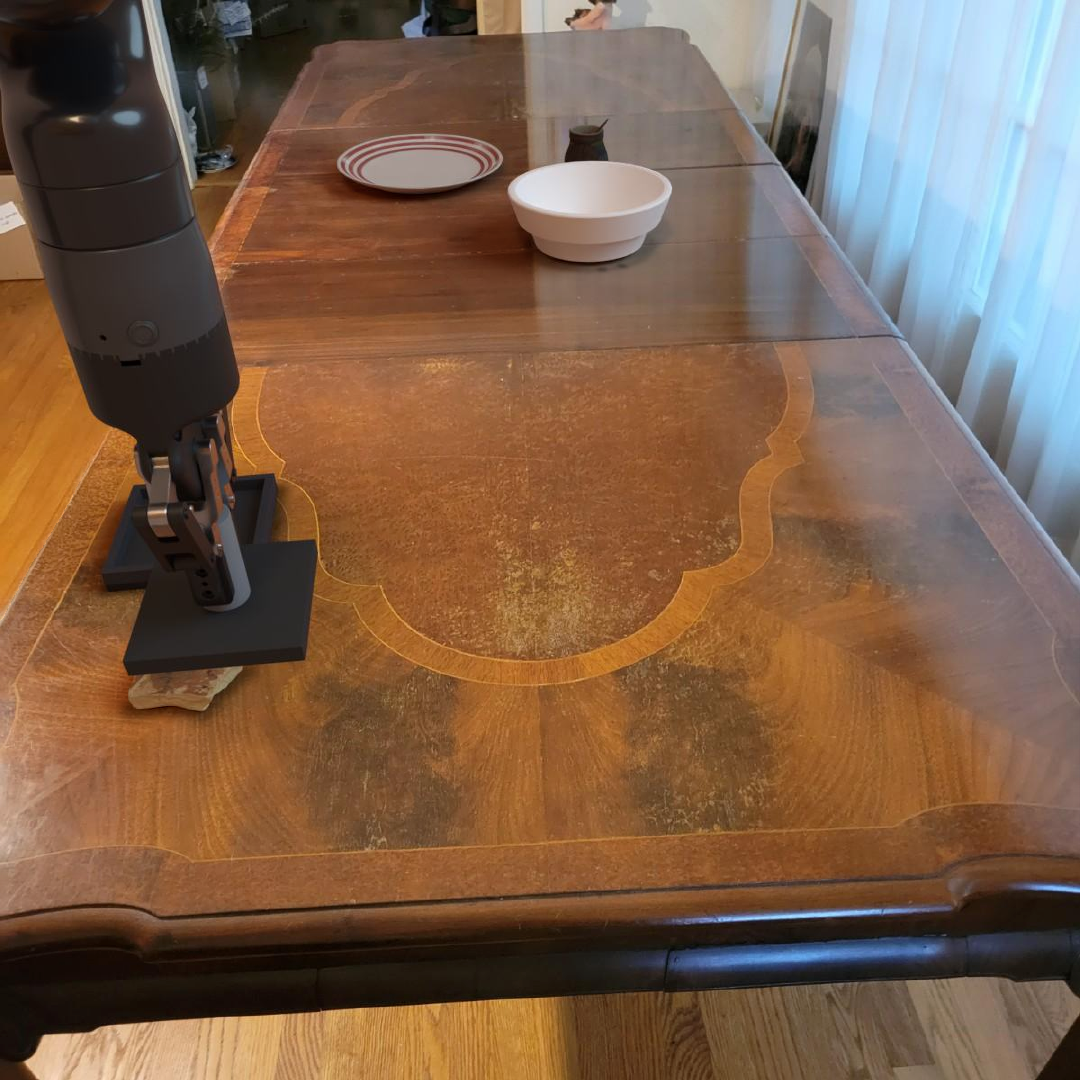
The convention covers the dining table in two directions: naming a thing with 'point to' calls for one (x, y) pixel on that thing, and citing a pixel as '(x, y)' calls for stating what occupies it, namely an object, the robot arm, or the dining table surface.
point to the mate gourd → (586, 144)
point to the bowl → (589, 208)
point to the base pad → (135, 560)
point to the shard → (180, 688)
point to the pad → (228, 611)
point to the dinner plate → (419, 162)
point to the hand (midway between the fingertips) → (220, 581)
